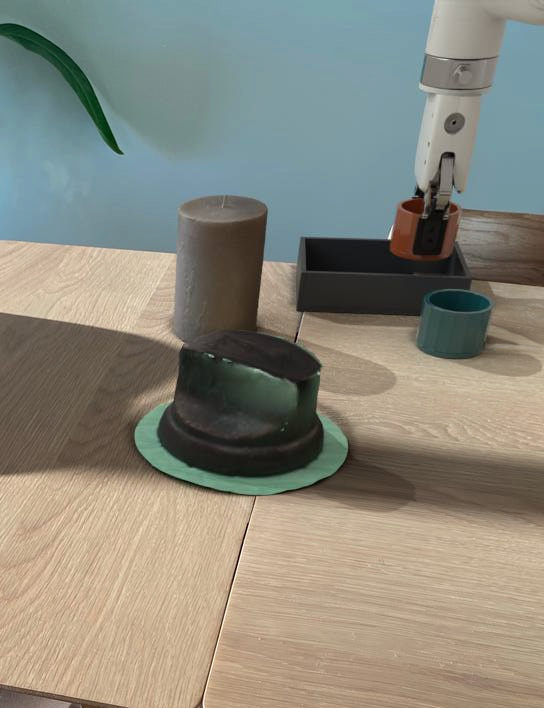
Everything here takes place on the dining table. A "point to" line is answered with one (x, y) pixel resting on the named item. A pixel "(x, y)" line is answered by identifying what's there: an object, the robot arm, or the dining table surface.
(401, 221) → the orange cup
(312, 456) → the dark hat
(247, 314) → the pillar candle
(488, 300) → the teal cup
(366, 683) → the dining table surface
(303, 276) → the tub
